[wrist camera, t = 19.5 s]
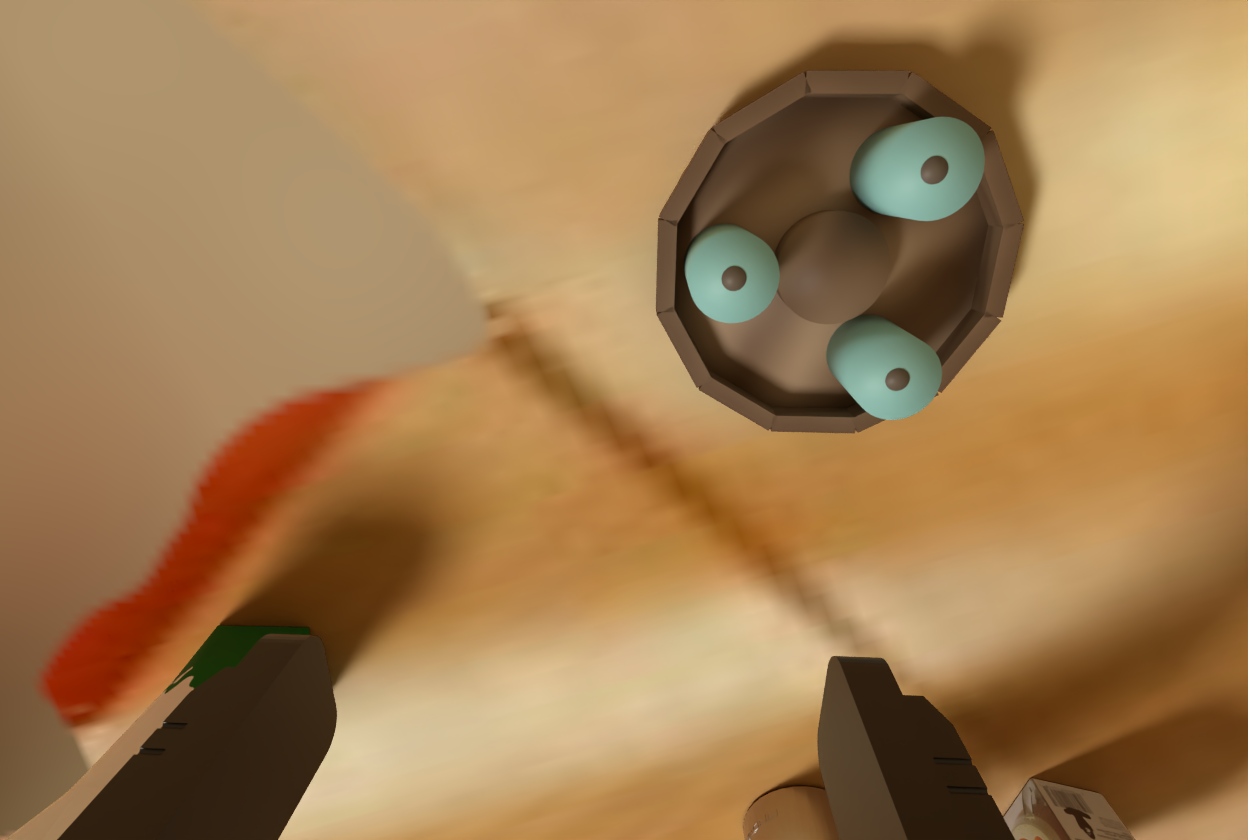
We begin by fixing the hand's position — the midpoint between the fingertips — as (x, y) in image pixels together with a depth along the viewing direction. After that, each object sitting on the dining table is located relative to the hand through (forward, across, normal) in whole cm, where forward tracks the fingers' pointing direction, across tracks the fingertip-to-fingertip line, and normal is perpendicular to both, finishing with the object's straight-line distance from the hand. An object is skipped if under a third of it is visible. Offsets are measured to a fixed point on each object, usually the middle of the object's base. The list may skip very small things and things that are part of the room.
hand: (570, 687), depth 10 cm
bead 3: (+29, -14, +2) cm, 32 cm away
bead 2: (+29, -14, -8) cm, 33 cm away
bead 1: (+29, -5, -3) cm, 30 cm away
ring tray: (+30, -11, -3) cm, 32 cm away
